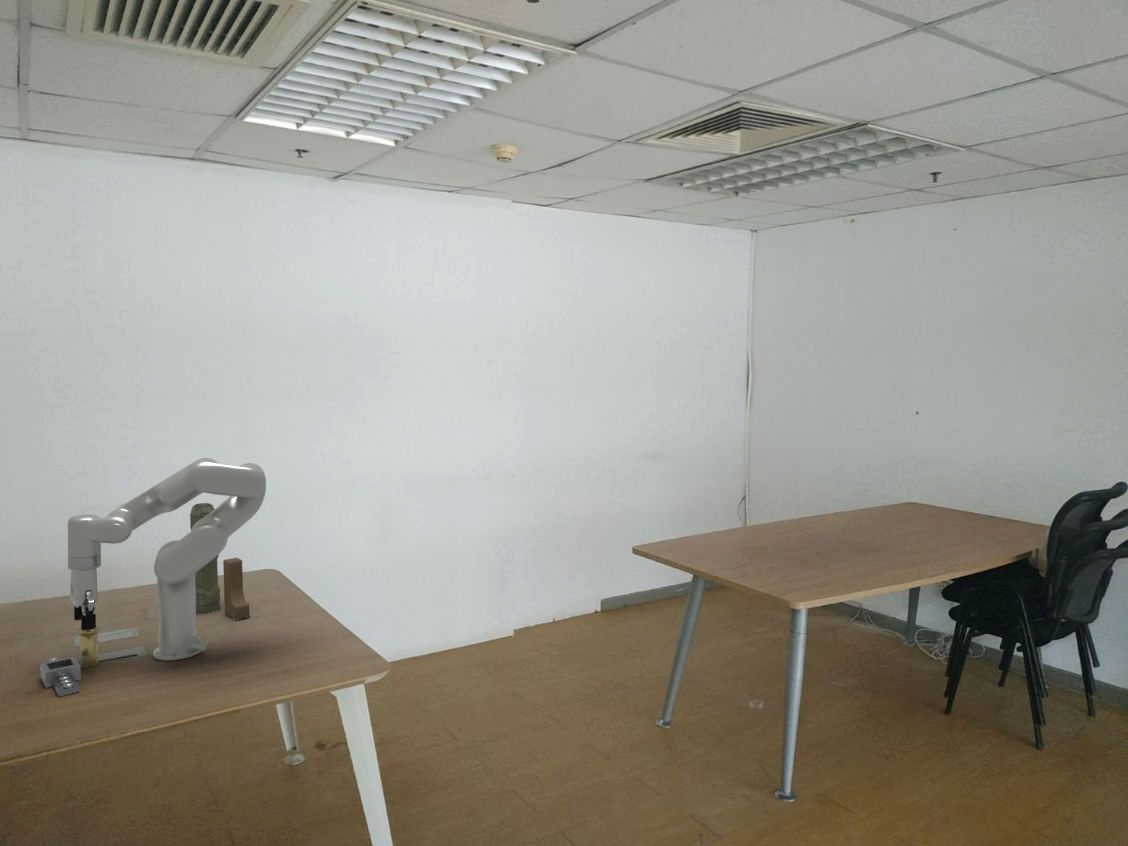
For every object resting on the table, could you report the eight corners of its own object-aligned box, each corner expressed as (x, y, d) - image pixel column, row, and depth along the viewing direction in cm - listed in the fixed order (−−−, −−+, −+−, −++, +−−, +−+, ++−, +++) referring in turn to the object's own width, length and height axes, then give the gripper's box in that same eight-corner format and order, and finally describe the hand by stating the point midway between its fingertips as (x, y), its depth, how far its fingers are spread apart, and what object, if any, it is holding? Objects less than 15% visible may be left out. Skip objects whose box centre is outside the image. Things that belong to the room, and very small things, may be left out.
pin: (105, 661, 210) (103, 625, 209) (90, 668, 205) (88, 632, 204) (89, 659, 211) (88, 624, 210) (74, 666, 206) (72, 630, 205)
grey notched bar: (87, 690, 192) (86, 674, 191) (51, 698, 187) (50, 682, 186) (69, 661, 209) (69, 647, 209) (36, 669, 204) (35, 654, 204)
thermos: (198, 616, 246) (194, 508, 243) (185, 608, 255) (182, 503, 252) (226, 610, 252) (223, 505, 250) (212, 602, 261) (210, 500, 258)
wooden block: (250, 617, 246) (248, 562, 244) (235, 621, 243) (234, 565, 241) (238, 611, 252) (236, 557, 251) (224, 614, 249) (222, 559, 248)
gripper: (62, 556, 209) (62, 618, 211) (74, 570, 196) (74, 636, 198) (94, 553, 214) (94, 613, 216) (107, 566, 201) (108, 630, 203)
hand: (84, 624), depth 207 cm, fingers open, 9 cm apart
